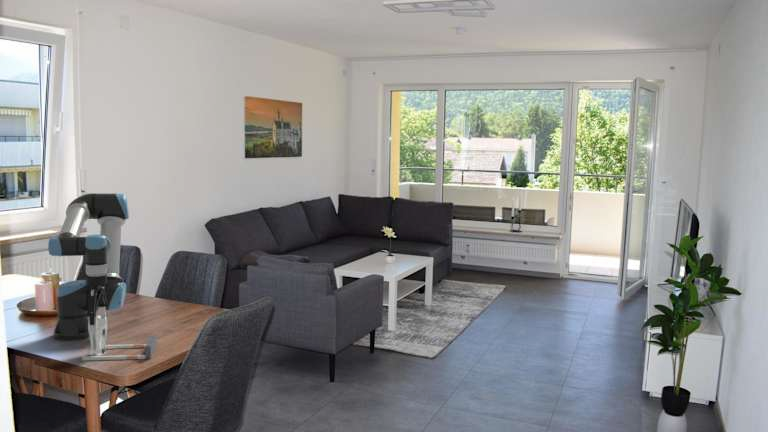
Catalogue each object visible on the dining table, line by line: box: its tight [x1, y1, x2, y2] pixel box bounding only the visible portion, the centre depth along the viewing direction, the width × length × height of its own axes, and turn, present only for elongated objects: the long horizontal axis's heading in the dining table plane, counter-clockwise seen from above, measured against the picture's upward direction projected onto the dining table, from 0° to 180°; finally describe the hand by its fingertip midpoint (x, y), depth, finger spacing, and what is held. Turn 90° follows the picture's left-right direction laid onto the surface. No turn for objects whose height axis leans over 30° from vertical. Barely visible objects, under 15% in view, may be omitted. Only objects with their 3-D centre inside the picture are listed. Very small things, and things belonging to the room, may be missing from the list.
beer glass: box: [88, 314, 108, 356], centre depth 251 cm, size 7×7×15 cm
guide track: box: [81, 334, 158, 362], centre depth 253 cm, size 25×14×5 cm, turn 101°
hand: (97, 327), depth 250 cm, fingers open, 13 cm apart
